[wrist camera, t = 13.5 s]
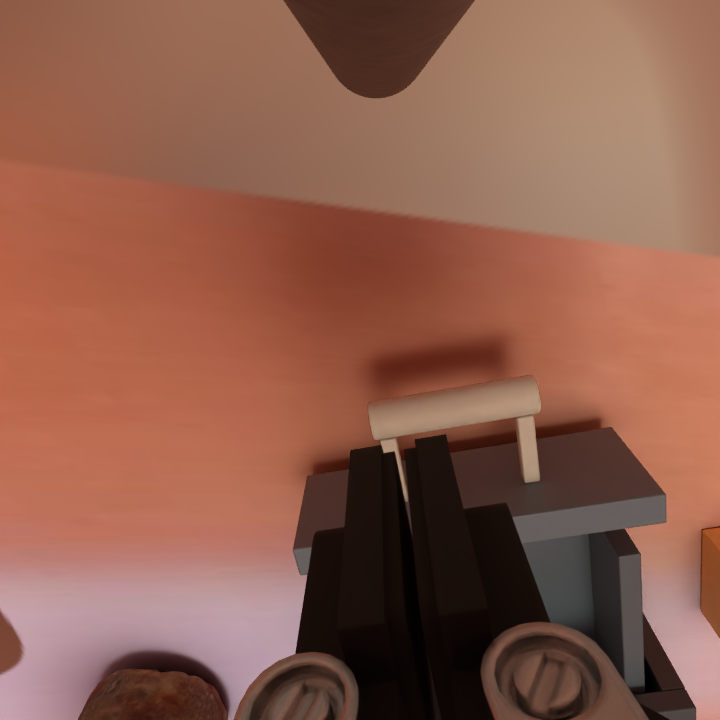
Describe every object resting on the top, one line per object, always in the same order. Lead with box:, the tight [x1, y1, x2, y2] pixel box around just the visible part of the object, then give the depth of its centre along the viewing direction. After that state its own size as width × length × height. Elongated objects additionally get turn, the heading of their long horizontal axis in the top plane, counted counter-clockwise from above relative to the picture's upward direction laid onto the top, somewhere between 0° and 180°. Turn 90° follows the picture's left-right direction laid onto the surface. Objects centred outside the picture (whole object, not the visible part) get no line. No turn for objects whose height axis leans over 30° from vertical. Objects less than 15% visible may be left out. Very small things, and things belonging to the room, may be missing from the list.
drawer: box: [293, 375, 666, 718], centre depth 24 cm, size 17×13×5 cm
